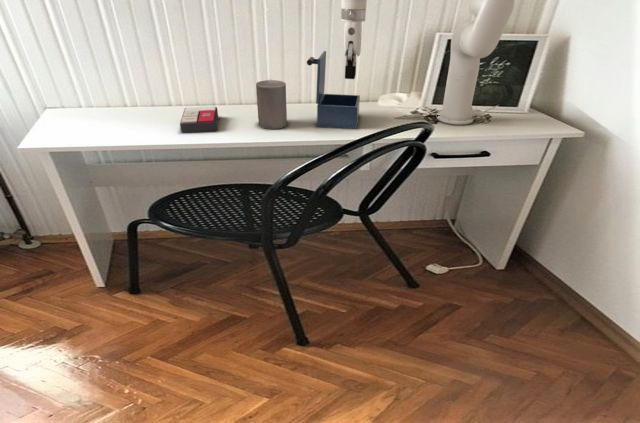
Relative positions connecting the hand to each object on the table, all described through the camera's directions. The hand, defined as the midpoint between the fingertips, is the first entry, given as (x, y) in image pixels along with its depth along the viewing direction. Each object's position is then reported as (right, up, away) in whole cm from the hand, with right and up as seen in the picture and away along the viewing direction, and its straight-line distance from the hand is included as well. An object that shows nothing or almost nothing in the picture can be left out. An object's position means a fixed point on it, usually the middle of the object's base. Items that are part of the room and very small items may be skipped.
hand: (350, 76), depth 134 cm
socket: (0, 0, 0) cm, 0 cm away
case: (-3, -13, +8) cm, 15 cm away
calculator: (-50, -15, +4) cm, 52 cm away
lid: (-9, 0, +1) cm, 9 cm away
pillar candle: (-26, -15, +4) cm, 30 cm away
